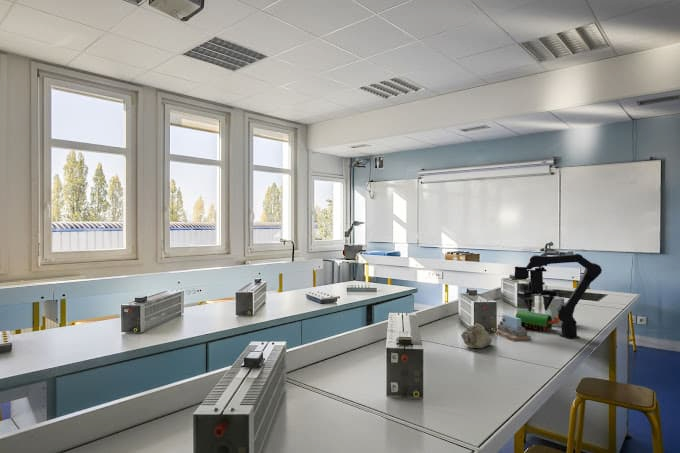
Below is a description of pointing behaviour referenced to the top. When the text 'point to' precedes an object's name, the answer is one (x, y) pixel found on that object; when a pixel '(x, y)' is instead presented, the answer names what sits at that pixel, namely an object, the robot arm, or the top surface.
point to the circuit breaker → (555, 309)
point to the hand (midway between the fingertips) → (537, 310)
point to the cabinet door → (511, 321)
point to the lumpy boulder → (476, 336)
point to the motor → (536, 320)
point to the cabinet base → (512, 332)
